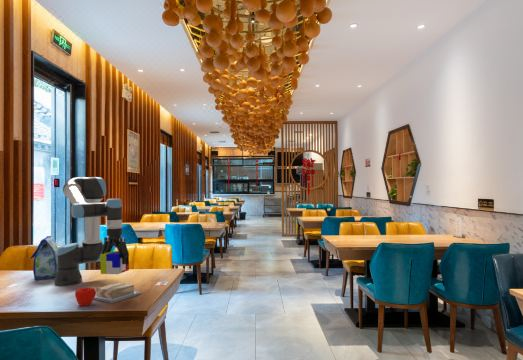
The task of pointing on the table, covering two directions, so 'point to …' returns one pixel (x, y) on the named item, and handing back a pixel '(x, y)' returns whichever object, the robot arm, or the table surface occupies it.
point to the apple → (85, 296)
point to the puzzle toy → (112, 263)
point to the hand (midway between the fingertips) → (115, 269)
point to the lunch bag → (45, 259)
